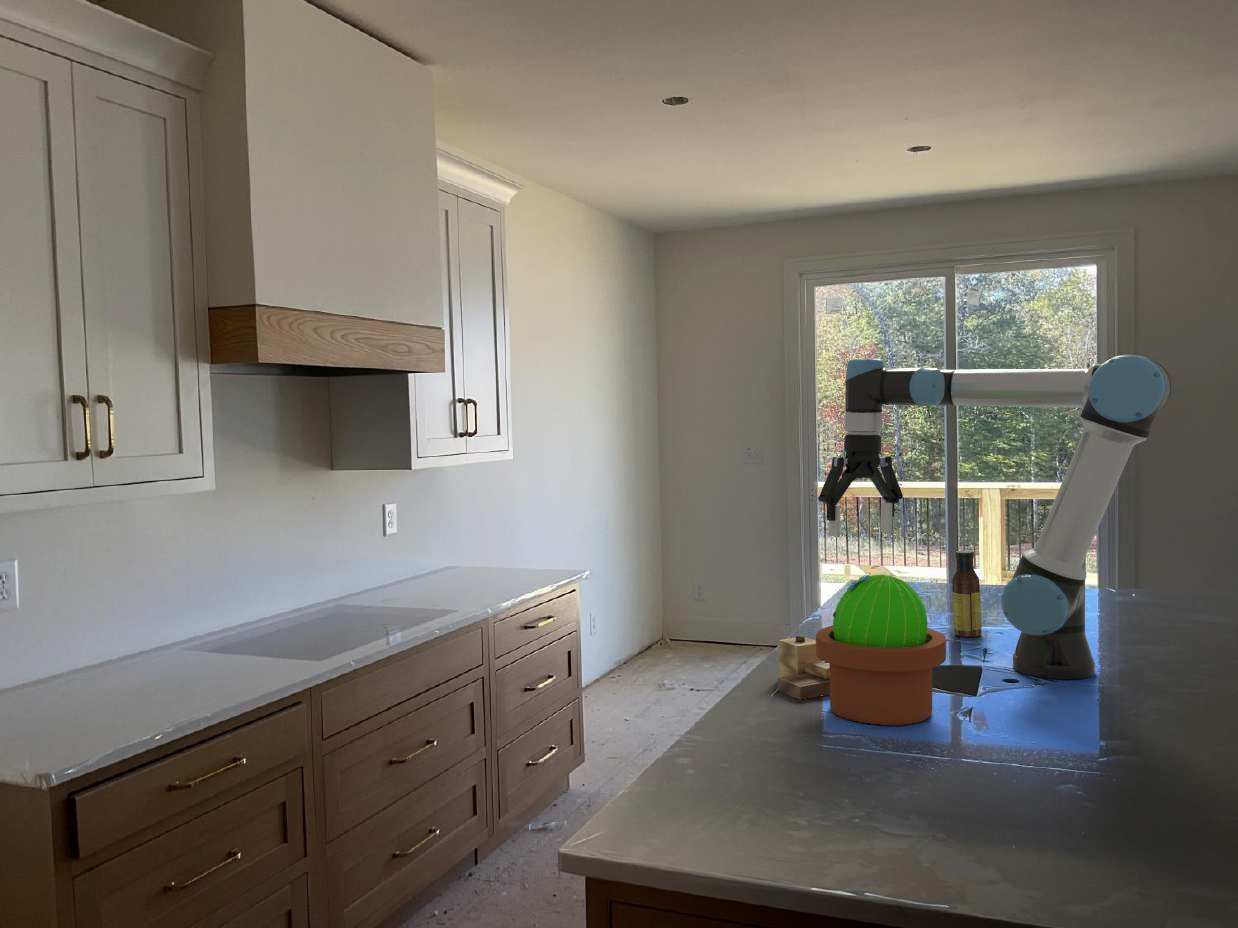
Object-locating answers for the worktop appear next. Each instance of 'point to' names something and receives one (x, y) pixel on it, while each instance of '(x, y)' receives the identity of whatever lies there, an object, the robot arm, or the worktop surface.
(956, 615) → the sauce bottle
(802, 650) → the tan wooden block
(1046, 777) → the worktop surface
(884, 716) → the potted cactus
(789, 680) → the board
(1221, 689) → the worktop surface
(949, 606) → the worktop surface
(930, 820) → the worktop surface
